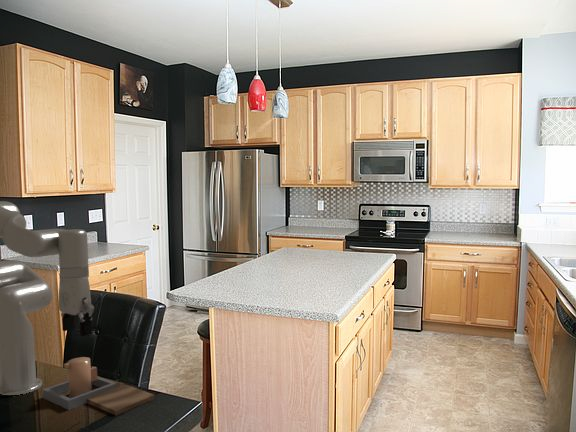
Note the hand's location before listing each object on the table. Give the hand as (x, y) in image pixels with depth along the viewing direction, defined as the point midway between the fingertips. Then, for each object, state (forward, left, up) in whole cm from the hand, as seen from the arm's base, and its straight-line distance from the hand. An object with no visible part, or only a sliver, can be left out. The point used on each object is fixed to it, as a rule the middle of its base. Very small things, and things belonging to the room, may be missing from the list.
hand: (77, 332), depth 135 cm
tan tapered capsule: (0, 0, -18) cm, 18 cm away
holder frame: (0, 0, -18) cm, 18 cm away
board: (+14, +4, -18) cm, 23 cm away
